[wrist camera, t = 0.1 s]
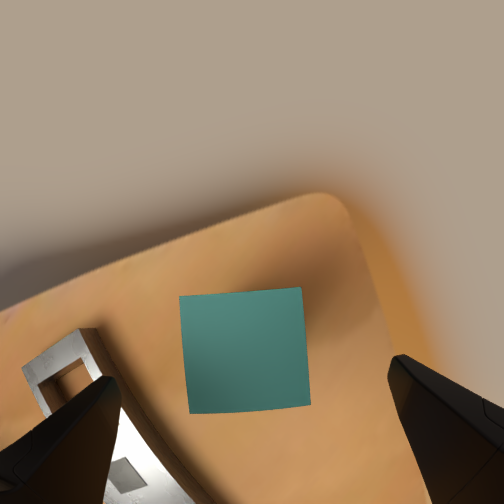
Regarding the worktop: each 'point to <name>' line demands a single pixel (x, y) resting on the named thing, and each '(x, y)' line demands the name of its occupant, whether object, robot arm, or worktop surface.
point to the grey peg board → (129, 430)
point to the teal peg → (245, 351)
